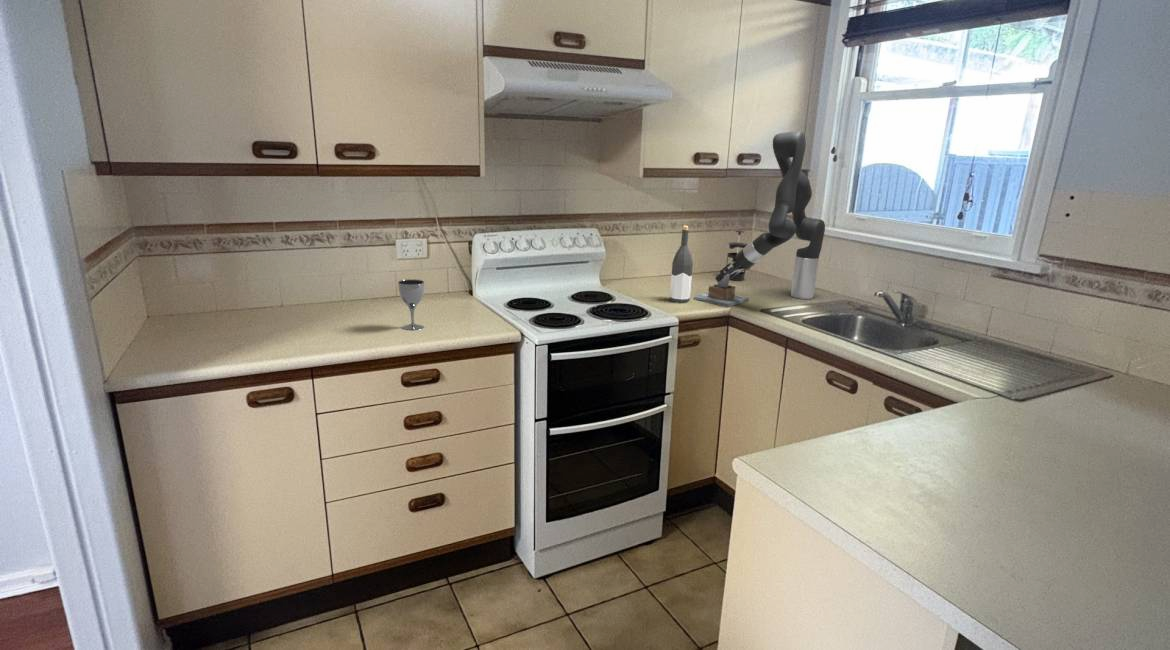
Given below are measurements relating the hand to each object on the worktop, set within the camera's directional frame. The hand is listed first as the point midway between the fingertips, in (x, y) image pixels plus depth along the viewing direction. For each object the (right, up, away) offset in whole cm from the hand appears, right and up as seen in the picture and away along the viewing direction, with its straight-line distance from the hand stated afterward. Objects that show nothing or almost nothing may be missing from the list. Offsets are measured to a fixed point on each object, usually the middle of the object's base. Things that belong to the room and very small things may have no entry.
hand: (722, 278), depth 256 cm
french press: (+16, +3, +45) cm, 48 cm away
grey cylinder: (0, -7, +2) cm, 8 cm away
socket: (0, -9, +2) cm, 9 cm away
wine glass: (-112, -20, -51) cm, 124 cm away
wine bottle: (-18, -9, -2) cm, 20 cm away
